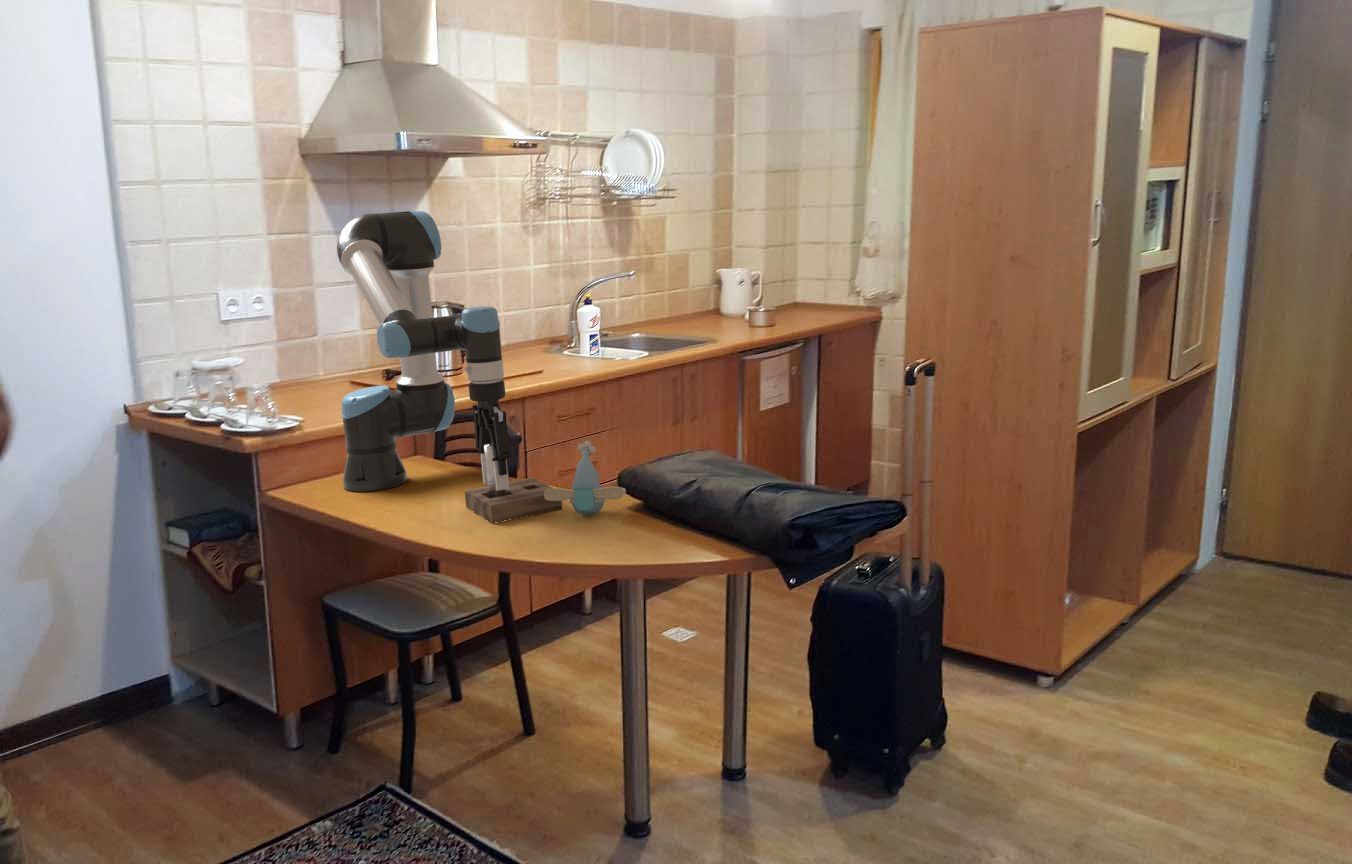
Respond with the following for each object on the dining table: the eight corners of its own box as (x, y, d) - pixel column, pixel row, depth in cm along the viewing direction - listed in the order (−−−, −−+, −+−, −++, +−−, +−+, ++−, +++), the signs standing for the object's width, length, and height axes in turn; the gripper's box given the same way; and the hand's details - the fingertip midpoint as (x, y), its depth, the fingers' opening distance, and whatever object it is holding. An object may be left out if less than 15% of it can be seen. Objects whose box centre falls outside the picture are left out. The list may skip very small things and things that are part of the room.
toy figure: (631, 505, 238) (626, 437, 235) (624, 519, 228) (619, 449, 225) (555, 508, 240) (549, 440, 237) (545, 522, 230) (538, 452, 227)
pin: (487, 507, 240) (481, 444, 238) (502, 504, 242) (497, 441, 239) (493, 510, 237) (487, 447, 235) (509, 507, 239) (503, 444, 236)
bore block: (466, 507, 245) (464, 490, 244) (533, 494, 252) (531, 477, 252) (492, 523, 231) (490, 505, 230) (562, 509, 239) (560, 491, 238)
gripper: (453, 377, 241) (463, 480, 246) (486, 388, 224) (496, 498, 229) (486, 373, 244) (495, 474, 249) (520, 383, 227) (530, 491, 232)
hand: (496, 485), depth 239 cm, fingers open, 7 cm apart
